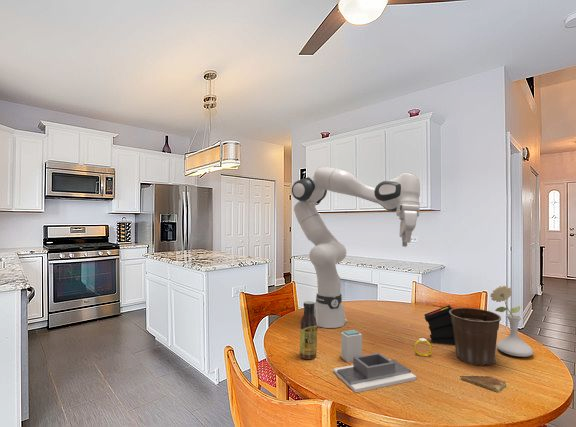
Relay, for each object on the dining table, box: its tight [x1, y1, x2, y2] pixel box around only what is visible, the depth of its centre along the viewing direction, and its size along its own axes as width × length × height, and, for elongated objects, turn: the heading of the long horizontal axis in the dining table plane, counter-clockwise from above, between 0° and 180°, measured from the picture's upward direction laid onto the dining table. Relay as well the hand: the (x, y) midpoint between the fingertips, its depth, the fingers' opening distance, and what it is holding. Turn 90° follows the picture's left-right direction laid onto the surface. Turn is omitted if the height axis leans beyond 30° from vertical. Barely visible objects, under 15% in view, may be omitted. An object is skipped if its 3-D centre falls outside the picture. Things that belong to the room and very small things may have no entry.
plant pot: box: [449, 307, 502, 367], centre depth 118 cm, size 16×16×16 cm
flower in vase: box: [490, 285, 534, 358], centre depth 123 cm, size 13×11×25 cm
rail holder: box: [332, 352, 418, 394], centre depth 106 cm, size 14×22×5 cm, turn 109°
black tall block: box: [424, 304, 455, 346], centre depth 133 cm, size 4×13×15 cm, turn 74°
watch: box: [414, 337, 433, 357], centre depth 121 cm, size 6×3×6 cm, turn 73°
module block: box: [340, 329, 363, 363], centre depth 119 cm, size 4×6×10 cm
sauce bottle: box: [299, 300, 318, 360], centre depth 121 cm, size 7×6×20 cm
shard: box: [459, 375, 507, 393], centre depth 101 cm, size 11×8×2 cm
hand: (406, 244), depth 132 cm, fingers open, 8 cm apart
